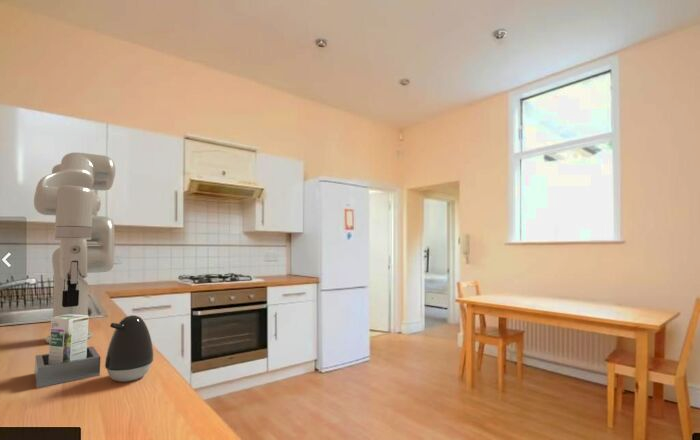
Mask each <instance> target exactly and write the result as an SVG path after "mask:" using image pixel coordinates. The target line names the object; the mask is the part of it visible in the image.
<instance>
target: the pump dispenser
mask: <svg viewBox="0 0 700 440" xmlns="http://www.w3.org/2000/svg"><path fill="white" fill-rule="evenodd" d="M110 328H112V329H115V330H114V331H113V334H112V336H111V338H110V342H109V344H108V347H107V352H106V355H105V362H104V363H105V364H104V367H105V369H106V371H107V374H108V376H109V377H110V378H111V379H112V380H113V381H116V382H120V383H121V382H123V383H125V382H126V383H128V382H132V381H136V380H139V379H140V378H142V377H144V376H145V375H147V373H148V372H149V371H150V368H151V367H152V363H153V362H154V348H153V341H152V337H151V334H150V330H149V329H148V327H147V324H146V322H145V321H144V319H143V318H142V317H141V316H138V315H127V316H126V317H124V318H122V319H121V320H120V321H119V323H118V322H117V323H116V322H111V323H110Z"/></svg>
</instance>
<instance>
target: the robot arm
mask: <svg viewBox="0 0 700 440" xmlns="http://www.w3.org/2000/svg"><path fill="white" fill-rule="evenodd" d="M60 161H61V162H60V163H59V164H56V165H54V166H53V167H52V169H51V173H50V174H48V175H45V176H43V177H42V178H41V179H40V180H38V182H37V184H36V187H35V193H34V197H33V206H34V209H35V211H36V212H37V213H39V214H40V215H44V216H55V224H54V240H55V241H59V240H60V244H59V245H60V246H59V247H58V248H56V249H55V250H54V251H53V252H52V256H51V261H52V262H51V264H52V268H53V269H52V271H53V302H52V303H53V304H52V305H53V306H52V318H54V317H57V316H61V315H69V314H74V315H88V316H89V293H90V290H89V287H90V286H89V284H88V282H87V280H85V279H86V278H87V277H88V274H95V273H98V274H99V273H106V272H110V271H111V270H113V268H114V265H115V237H116V236H115V233H116V232H115V223H114V221H113V219H112V218H110V217H108V216H100V215H96V214H97V213H98V212H99V211H100V210H101V205H102V204H101V197H100V196H99V195H98V194H97V193H96V192H95V191H109V190H110V189H111V188H112V187H113V184H114V181H115V177H116V165H115V161H114V160H113V159H112V158H111V157H110V156H107V155H102V154H95V153H94V154H93V153H85V152H69V153H67V154H65V155H64V156H63V157H62V159H61V160H60ZM88 243H97V244H98V245H88ZM92 336H93V332H92V331H91V330H88V336H87V340H88V339H90V338H91V337H92ZM44 341H45V343H46V344H50V335H48V336H47V337H45V340H44Z"/></svg>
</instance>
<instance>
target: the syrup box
mask: <svg viewBox="0 0 700 440" xmlns="http://www.w3.org/2000/svg"><path fill="white" fill-rule="evenodd" d="M89 317H90V316H89V314H88V315H74V314H69V315H61V316H57V317H54V318H53V317H51V319H50V330H49V331H50V332H49V336H50V343H49V346H48V354H49V362H48V365H50V364H56V363H61V362H67V361H73V360H78V359H84V358H86V355H87V347H88V339H87V336H88V331H89Z"/></svg>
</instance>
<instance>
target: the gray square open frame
mask: <svg viewBox="0 0 700 440" xmlns="http://www.w3.org/2000/svg"><path fill="white" fill-rule="evenodd" d="M48 362H49V353H42V354H37V355H35V362H34V378H35V386H36V389H38V388H43V387H44V388H45V387H48V386H49V387H50V386H53V385H58V384H63V383H68V382H73V381H78V380H82V379H88V378H92V377H96V376H97V377H99V376H100V375H101V356H100V354H99V353H98V351H97V350H96V348H95V347H94V346H87V355H86V358H84V359H78V360H73V361H67V362H61V363H56V364H50V365H48Z"/></svg>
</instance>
